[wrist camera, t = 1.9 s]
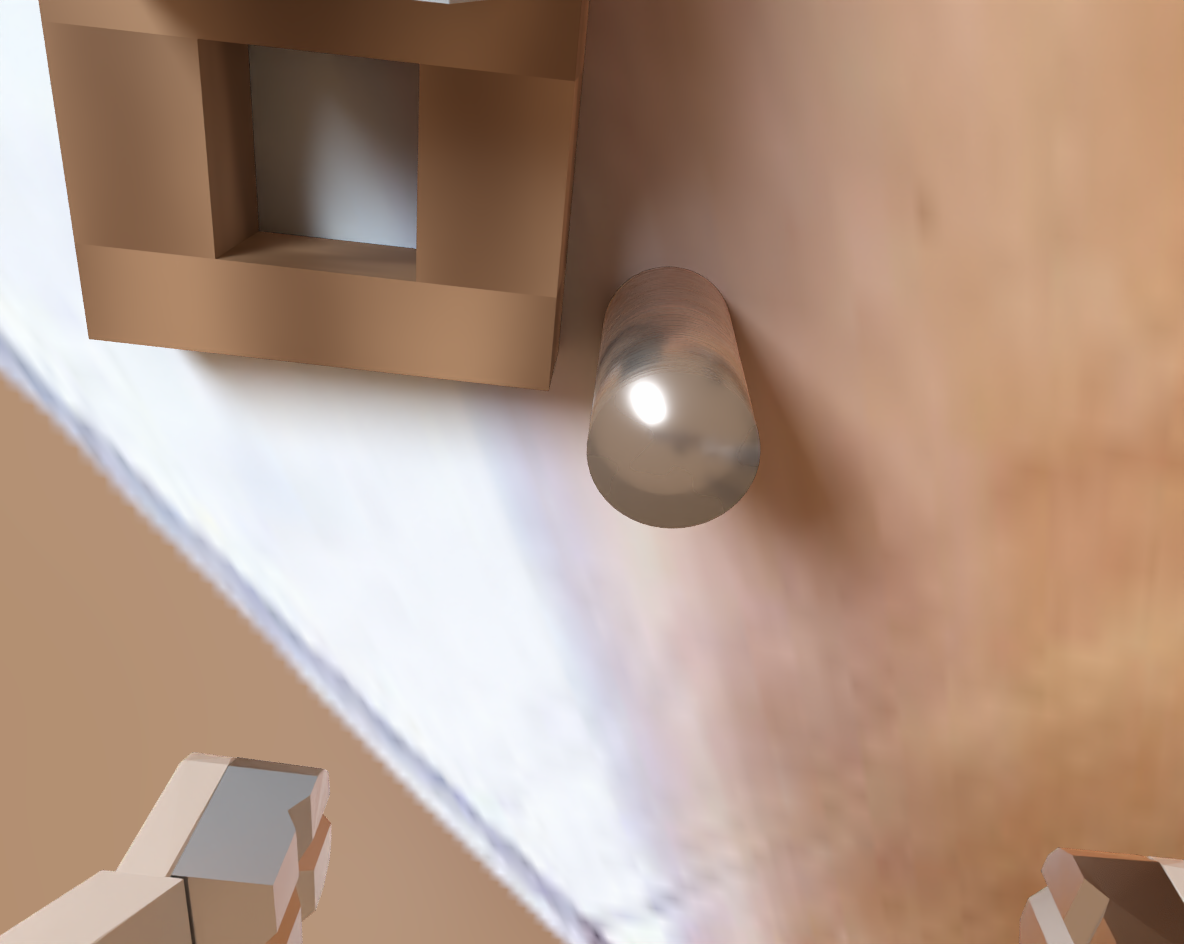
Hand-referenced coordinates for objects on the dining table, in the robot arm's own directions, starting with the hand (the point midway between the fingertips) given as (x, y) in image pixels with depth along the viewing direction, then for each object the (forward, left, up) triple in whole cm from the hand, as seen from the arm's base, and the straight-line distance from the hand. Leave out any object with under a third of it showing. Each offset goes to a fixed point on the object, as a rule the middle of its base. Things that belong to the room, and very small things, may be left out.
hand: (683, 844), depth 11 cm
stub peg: (0, 0, -18) cm, 18 cm away
